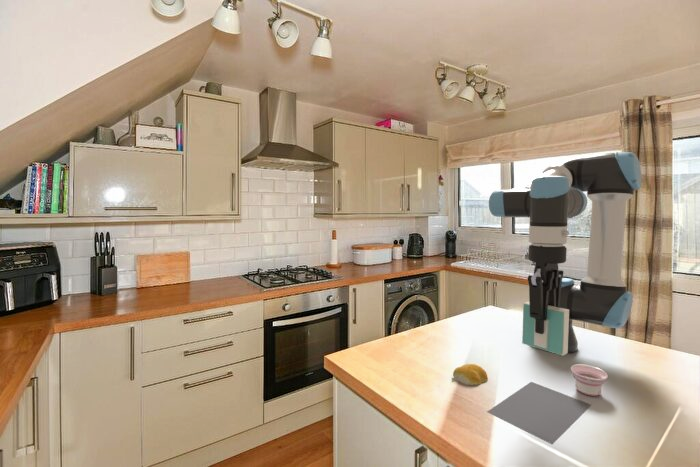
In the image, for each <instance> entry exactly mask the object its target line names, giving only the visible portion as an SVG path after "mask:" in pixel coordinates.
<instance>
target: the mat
mask: <svg viewBox="0 0 700 467" xmlns="http://www.w3.org/2000/svg"><path fill="white" fill-rule="evenodd" d="M591 406H592V404H591V403H588V402H585V401H582V400H580V399H578V398H574V397H572V396H570V395H567V394H564V393H561V392H559V391H556V390H554V389H551V388H548V387H546V386H543V385H541V384H538V383H535V382H533V381H530V382H528V383H527V384H526V385H524V386H522V387H521V388H519V389H518V390H516V392H514V393H512V394H510V395H508V397H506V398H505V399H504V400H502V401H501V402H499V403H498V404H496V405H495V406H493V407H491V408H490V409H489V410H487V411H486V413H489V414H490V415H492V416H494V417H496V418H499V419H500V420H502V421H504V422H506V423H509V424H510V425H513V426H515V427H517V428H518V429H520V430H522V431H524V432H527V433H529V434H531V435H533V436H535V437H537V438H539V439H541V440H542V441H545V442H547V443H548V444H551V445H553V444H554V443H555V442H556V441H558V439H559V438H560V437H561V436H563V435H564V433H565V432H566V431H567V430H568V429H569V428H570V427H571V426H573V424H574V423H575V422H576V421H577V420H579V418H580V417H581V416H582V415H584V413H586V411H587V410H588V409H589V408H590V407H591Z"/></svg>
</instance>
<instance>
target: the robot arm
mask: <svg viewBox="0 0 700 467" xmlns="http://www.w3.org/2000/svg"><path fill="white" fill-rule="evenodd" d="M642 178H643V177H642V170H641V164H640V160H639V158H638V156H637V154H636V153H634V152H631V151H623V152H622V151H618V152H617V151H615V152H609V153H600V154H591V155H583V156H581V155H580V156H575V157H571V158H568V159H565V160H562V161H560V162H557V163H554V164H553V165H550V166H548V167H546V168H545V169H544V170H543V171H542V173H541V174H539V175H537V176H535V177H533V178H531V179H529V180H527V181H525V182H522V183H521V184H519V185H517V186H514V187H512V188H511V189H500V190H494V191H493V192H492V193H491V194H490V196H489V198H488V208H489V212H490V214H491V215H492V216H493V217H499V218H502V217H503V218H529V225H528V226H529V228H528V242H529V243H530V244H529V245H528V256H527V257H528V261H530V262H534V263H535V265H534V269H533V275H530V274H529V275H528V276H527V282H528V287H529V288H528V289H529V290H528V291H529V293H528V294H529V296H528V298H529V300H528V301H529V303H530V317H532V318H535V326H534V345H536V346H539V347H543V348H548V322H549V320H547V309H548V305H549V306H554V307H559V308H564V309H569V329H568V353H567V354H570V353H571V354H572V353H575V352H577V351H578V339H577V336H576V333H575V330H574V327H573V321H576V322H582V323H587V324H592V325H596V326H600V327H603V328H605V327H606V328H612V329H620V328H623V327H624V326H625V325H626V323H627V321H628V319H629V317H630V315H631V310H632V307H633V302H634V300H633V297H634V294H633V293H632V292H631V291H627V284H626V283H625V282H624V281H623V280H622V266H623V265H622V262H623V252H624V240H625V239H624V238H625V226H626V212H627V211H626V210H627V203H628V201H629V200H630V199H632V198H633V197H634V192H635V191H637V190H641V188H642V183H643V182H642V181H643V180H642ZM584 192H587V194H585V193H584ZM587 198H588V199H587ZM588 200H591V215H590V216H591V217H590V228H589V240H588V241H589V242H588V243H589V244H588V254H587V255H588V257H587V268H586V270H587V271H586V276H584V277H583V278H582V279H580V284H575V281H574V279H573V278H569V277H568V278H566V277H564V270H559V265H560V264H565V263H566V262H567V247H566V246H565V245H566V244H567V240H568V239H567V238H568V236H569V235H570V231H569V230H568V220H569V219H573V218H575V217H577V216H580V215H582V213H584V212H585V210H586V208H587V207H588Z"/></svg>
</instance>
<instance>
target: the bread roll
mask: <svg viewBox="0 0 700 467" xmlns="http://www.w3.org/2000/svg"><path fill="white" fill-rule="evenodd" d="M452 377H453V379H454V380H455V381H458V382H460V383H462V384H464V385H466V386H478V385H479V386H480V385H481V384H482V383H486V382H488V373H487V372H486V370H485V369H484V368H483V367H481V366H479V365H478V364H474V363H468V364H463V365H461V366H458V367H455V369H454V370H453V373H452Z"/></svg>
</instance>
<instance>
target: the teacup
mask: <svg viewBox="0 0 700 467" xmlns="http://www.w3.org/2000/svg"><path fill="white" fill-rule="evenodd" d="M570 371H571V373H572V374H573V378H574V379H575V388H576V390H577V391H579V392H580V393H581V394H583V395H586V396H588V397H589V396H590V397H597V396H599V395H602V394H601V393H602V386H603V385H604V382H606V381H607V380H608V378H609V377H608V376H609V375H608V373H607V372H606V371H604V370H603V369H601V368H599V367H598V366H597V367H596V366H593V365H590V364H584V363H578V364H572V366H571V367H570Z"/></svg>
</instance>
